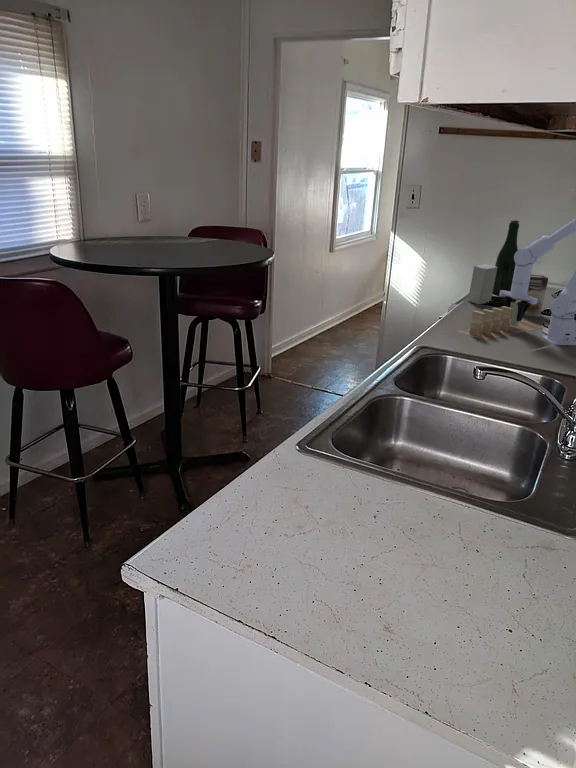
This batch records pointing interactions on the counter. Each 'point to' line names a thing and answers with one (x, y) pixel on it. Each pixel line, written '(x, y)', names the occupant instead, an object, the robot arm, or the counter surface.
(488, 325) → the birch domino
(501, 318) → the birch domino
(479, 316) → the birch domino
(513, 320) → the green domino
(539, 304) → the coffee box
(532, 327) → the thin wooden board
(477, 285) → the skincare box
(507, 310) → the birch domino
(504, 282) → the beer bottle
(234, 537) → the counter surface
